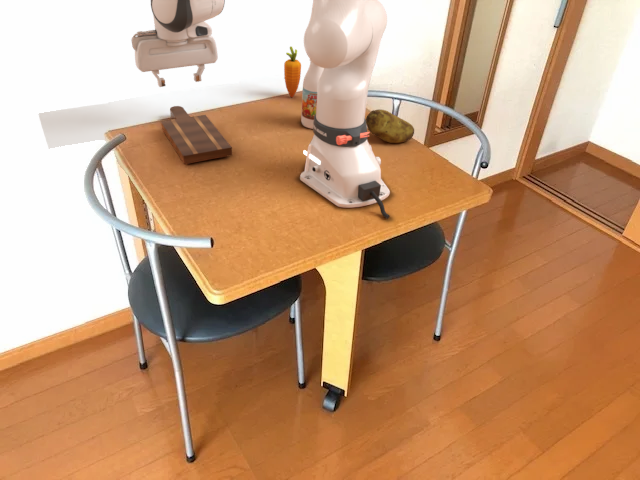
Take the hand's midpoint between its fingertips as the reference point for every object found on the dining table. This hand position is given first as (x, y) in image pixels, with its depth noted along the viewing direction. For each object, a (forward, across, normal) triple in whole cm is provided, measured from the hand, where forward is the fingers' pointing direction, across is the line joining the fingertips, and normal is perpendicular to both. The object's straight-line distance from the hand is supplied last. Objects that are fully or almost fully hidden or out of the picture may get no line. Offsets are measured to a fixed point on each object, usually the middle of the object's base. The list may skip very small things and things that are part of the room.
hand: (180, 83), depth 142 cm
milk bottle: (+12, +33, -12) cm, 38 cm away
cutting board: (+12, -1, -8) cm, 14 cm away
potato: (+13, +47, -28) cm, 57 cm away
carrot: (+12, +36, +7) cm, 38 cm away
